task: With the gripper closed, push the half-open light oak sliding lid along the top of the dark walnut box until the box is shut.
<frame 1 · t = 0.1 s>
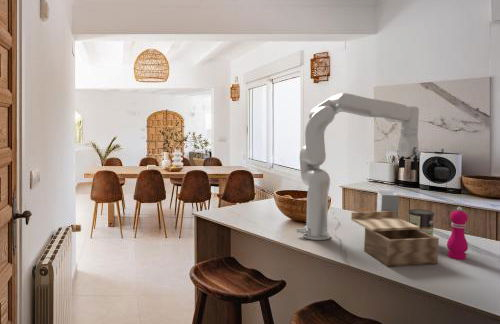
hand: (407, 168, 180), 31 cm above the kitchen island, tool pointing down, fingers open, 9 cm apart
coffee can: (419, 243, 166), on the kitchen island
pepper mill: (456, 257, 148), on the kitchen island
box lid: (383, 220, 158), point 12 cm above the kitchen island, slide at 12.0 cm
walnut box: (399, 257, 147), on the kitchen island
hard drive box: (385, 234, 181), on the kitchen island
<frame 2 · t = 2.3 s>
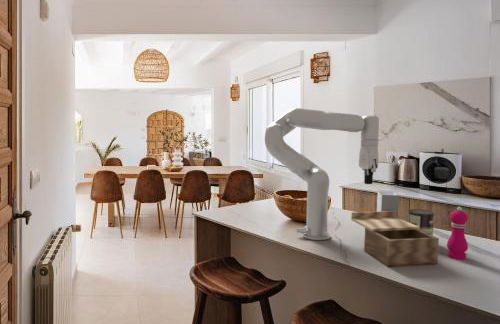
hand: (368, 183, 171), 25 cm above the kitchen island, tool pointing down, fingers closed
nothing on the kitchen island moved.
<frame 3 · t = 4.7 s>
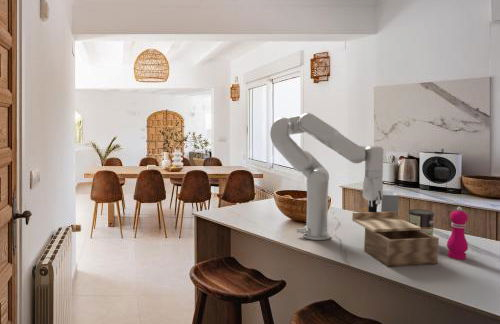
hand: (372, 215, 168), 12 cm above the kitchen island, tool pointing down, fingers closed
box lid: (385, 221, 157), point 12 cm above the kitchen island, slide at 11.0 cm, touching gripper
everything else where it was.
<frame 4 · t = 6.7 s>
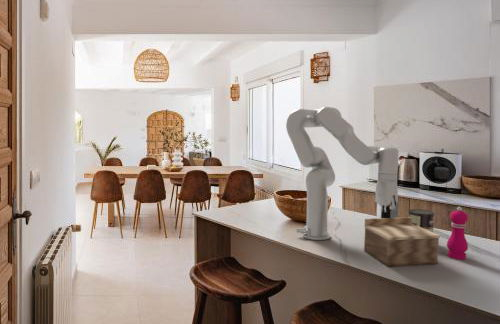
hand: (385, 221, 157), 12 cm above the kitchen island, tool pointing down, fingers closed
box lid: (400, 227, 146), point 12 cm above the kitchen island, slide at -0.1 cm, touching gripper
everything else where it was.
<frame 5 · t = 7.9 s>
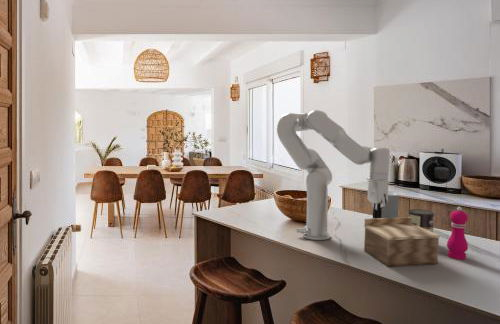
hand: (376, 218, 163), 11 cm above the kitchen island, tool pointing down, fingers closed
box lid: (400, 227, 146), point 12 cm above the kitchen island, slide at 0.0 cm
everything else where it was.
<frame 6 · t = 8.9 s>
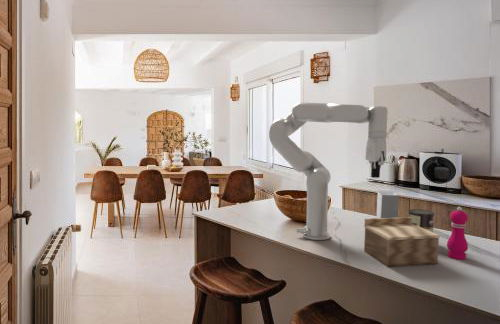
hand: (375, 177, 164), 29 cm above the kitchen island, tool pointing down, fingers closed
nothing on the kitchen island moved.
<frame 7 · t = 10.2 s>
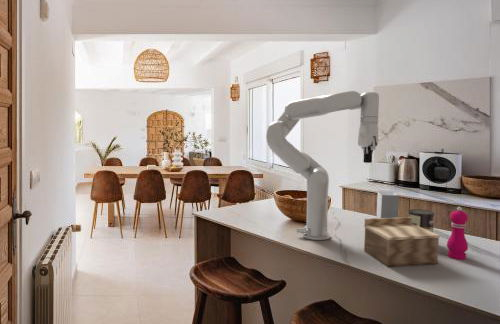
hand: (367, 162, 167), 35 cm above the kitchen island, tool pointing down, fingers closed
nothing on the kitchen island moved.
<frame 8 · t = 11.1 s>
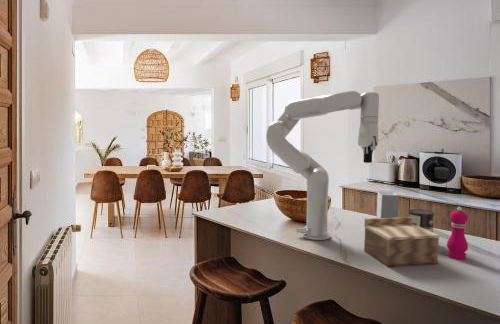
hand: (367, 162, 167), 35 cm above the kitchen island, tool pointing down, fingers closed
nothing on the kitchen island moved.
at the end: box lid slide at 0.0 cm; hard drive box moved 0.3 cm from its start; coffee can moved 0.2 cm from its start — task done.
